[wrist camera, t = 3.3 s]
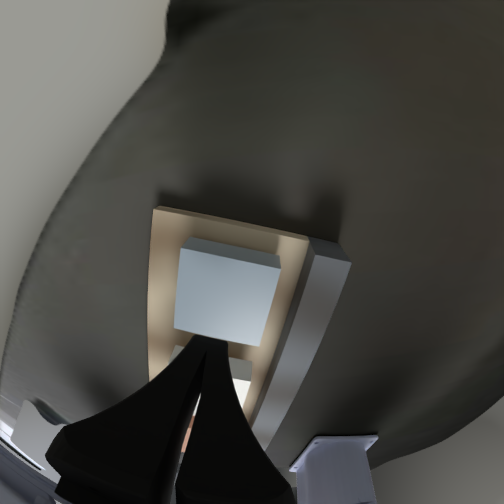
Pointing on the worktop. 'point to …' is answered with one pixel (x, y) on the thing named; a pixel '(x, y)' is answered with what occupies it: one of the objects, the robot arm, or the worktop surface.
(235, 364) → the key middle
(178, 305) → the key slate
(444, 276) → the worktop surface
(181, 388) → the robot arm
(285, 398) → the keypad base
